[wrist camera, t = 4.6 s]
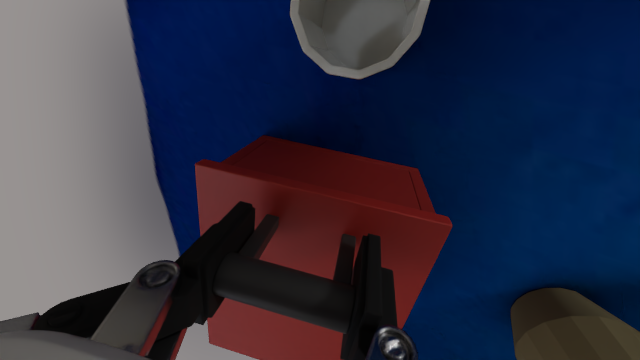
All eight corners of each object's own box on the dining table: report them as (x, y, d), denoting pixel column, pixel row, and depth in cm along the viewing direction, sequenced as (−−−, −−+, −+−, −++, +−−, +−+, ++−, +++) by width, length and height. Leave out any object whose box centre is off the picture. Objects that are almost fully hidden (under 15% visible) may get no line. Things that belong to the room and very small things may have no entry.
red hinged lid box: (263, 134, 20) (205, 171, 13) (418, 168, 19) (442, 228, 12) (256, 263, 27) (215, 333, 20) (371, 296, 26) (369, 382, 19)
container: (326, -41, 15) (298, -99, 9) (425, -28, 14) (454, -83, 9) (313, 65, 17) (285, 66, 12) (395, 80, 17) (404, 87, 11)
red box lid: (203, 158, 13) (104, 213, 8) (449, 216, 12) (499, 322, 7) (214, 333, 20) (164, 419, 15) (369, 383, 19) (367, 494, 14)
